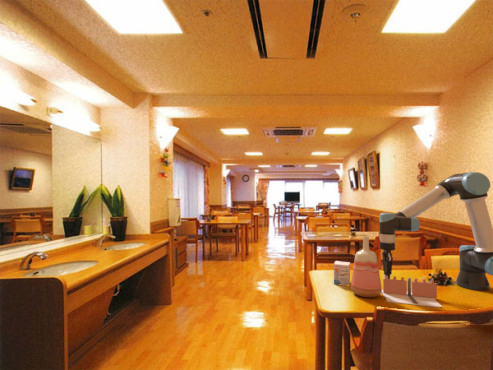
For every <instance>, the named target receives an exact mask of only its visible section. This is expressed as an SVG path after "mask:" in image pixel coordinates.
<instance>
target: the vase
mask: <svg viewBox="0 0 493 370" xmlns="http://www.w3.org/2000/svg"><path fill="white" fill-rule="evenodd" d="M362 238H363V239H362V249H360V250H358V251H356V253H354V254H355V256H354V260H353V261H354V262H353V269H352V276H351V280H350V289H351V291H352V292H353V293H354V294H355V295H357V296H358V297H359V296H360V297H362V298H369V299H370V298H371V299H372V298H373V299H374V298H377V297H379V296H381V294H382V289H383V288H382V282H381V276H380V275H381V274H380V269H379V263H378V255H377V254H376V252H374V251H371V249H370V237H369V236H368V235H367V236H365V235H363V236H362Z"/></svg>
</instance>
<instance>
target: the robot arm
mask: <svg viewBox="0 0 493 370" xmlns="http://www.w3.org/2000/svg"><path fill="white" fill-rule="evenodd" d="M490 188H491V181H490V179H489V178H488V176H487V175H485V174H483V173H481V172H475V171H469V172H464V173H463V172H462V173H455V174H452V175H450V176H448V177H447V178H445V179H443V180H442V181H440V182H439V183H437V184H436V185H435V186H434V188H433V189H431V190H430V191H428V192H426V193H425V194H424V195H422V196H421V197H418V198H417V199H416V200H415V201H412V202H411V203H410V204H408V205H407V206H405V207H404V208H402V209H401V210H400V211H397V212H396V213H393V212H382V213H380V214H379V222H378V223H379V234H378V237H379V249H380V250H383V252H381V256H382V257H381V258H382V270H383V279H386V276H388V279H391V276H392V273H393V272H392V271H393V270H392V269H393V262H394V261H393V260H394V257H393V253H392V251H395V250H396V243H395V242H396V232H411V233H412V232H417V231H419V230H420V226H421V223H420V220H419V218H417V217H418V216H420V215H422V214H423V213H425V212H427V211H428V210H429V209H431V208H432V207H434V206H436V205H438V203H441V202H442V201H444V200H448V199H450V198H452V197H454V196H458V195H459V200H460V201H462V202H464V205H465V209H466V213H467V217H468V219H469V224H470V228H471V231H472V236H473V238H474V243H475V245H468V244H467V245H465V244H463V245H460V246H459V251H458V253H459V257H458V258H459V271H458V275H457V276H456V279H455V284H456V285H457V286H458V285H459V287H460V288H465V289H468V290H473V291H474V290H475V291H490V290H491V285H490V282H489V280H488V277H487V275H486V274H488V275H490V276H493V224H492V220H491V217H490V213H489V209H488V205H487V202H486V199H487V197H488V192H489V191H490ZM378 237H377V238H378ZM489 289H490V290H489Z"/></svg>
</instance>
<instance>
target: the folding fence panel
mask: <svg viewBox="0 0 493 370" xmlns="http://www.w3.org/2000/svg"><path fill="white" fill-rule="evenodd" d="M392 277H393V278H392V279H391V278H390V279H388V276H386V279H384V278H383V281H382V282H383V283H382V287H383V288H382V289H383V293H390V294H400V295H407V292H408V280H405V277H403V276H401V278H400V279H397V277H396V276H395V275H394V276H392ZM383 293H382V294H383Z"/></svg>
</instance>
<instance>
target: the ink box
mask: <svg viewBox="0 0 493 370" xmlns="http://www.w3.org/2000/svg"><path fill="white" fill-rule="evenodd" d="M333 284H334V285H337V284H341V285H340V286H346V285H349V286H351V262H349V261H340V260H335V261H334V262H333Z"/></svg>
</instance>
